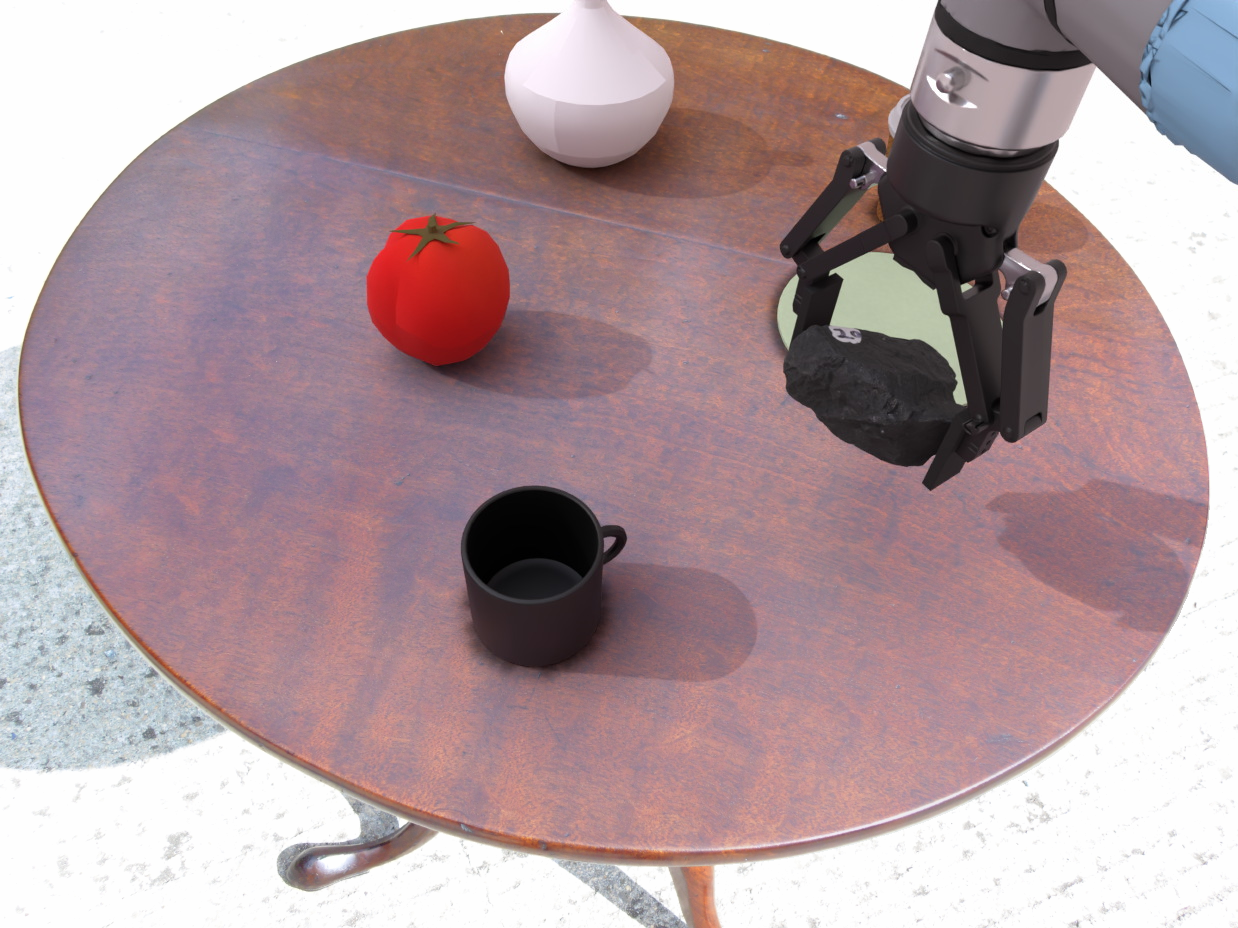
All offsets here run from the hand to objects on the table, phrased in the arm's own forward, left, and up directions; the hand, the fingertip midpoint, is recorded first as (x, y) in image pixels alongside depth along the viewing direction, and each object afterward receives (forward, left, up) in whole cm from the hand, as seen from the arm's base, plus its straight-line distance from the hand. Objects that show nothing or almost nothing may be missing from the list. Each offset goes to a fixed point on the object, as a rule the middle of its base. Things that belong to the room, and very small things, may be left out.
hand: (868, 413), depth 61 cm
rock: (0, 0, 0) cm, 0 cm away
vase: (+55, -14, -15) cm, 59 cm away
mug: (+6, +21, -15) cm, 26 cm away
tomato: (+34, +15, -15) cm, 40 cm away
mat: (+14, -22, -15) cm, 30 cm away
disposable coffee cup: (+26, -36, -15) cm, 47 cm away
